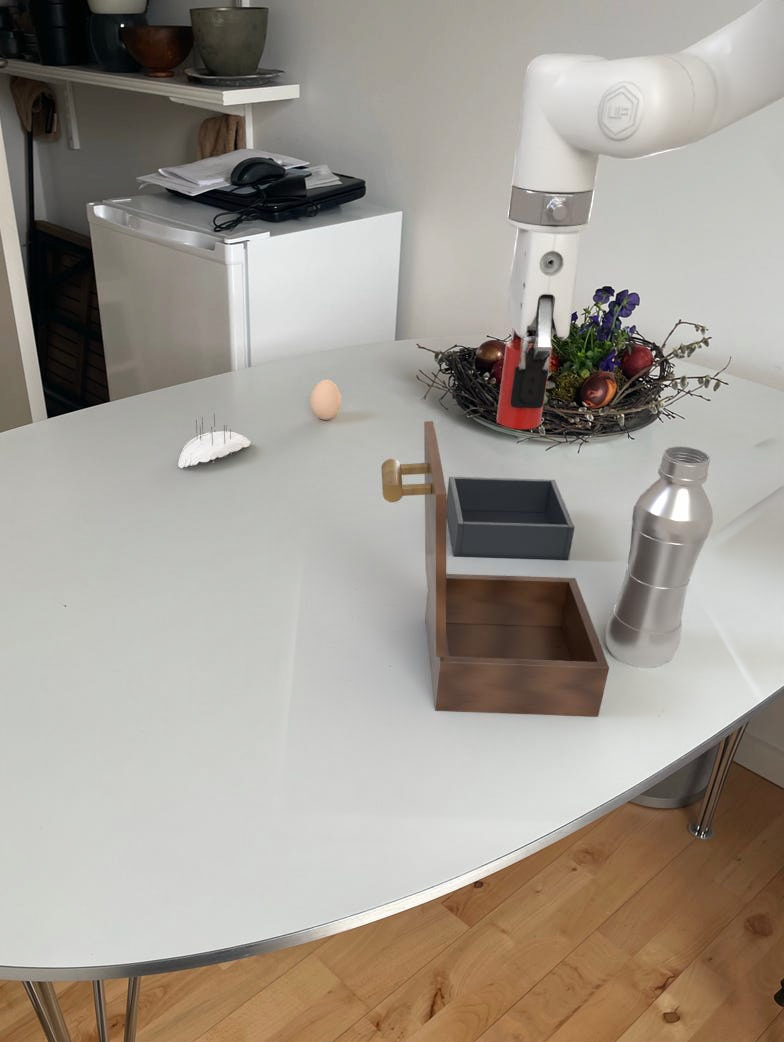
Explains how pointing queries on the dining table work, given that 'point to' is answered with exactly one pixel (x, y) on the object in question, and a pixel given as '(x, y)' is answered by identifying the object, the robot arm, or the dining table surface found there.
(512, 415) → the red cylinder
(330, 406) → the egg
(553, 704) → the chest
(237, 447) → the pincushion
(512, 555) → the bin
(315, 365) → the dining table surface
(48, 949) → the dining table surface
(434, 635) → the lid
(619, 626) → the silver metal bottle
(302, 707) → the dining table surface
